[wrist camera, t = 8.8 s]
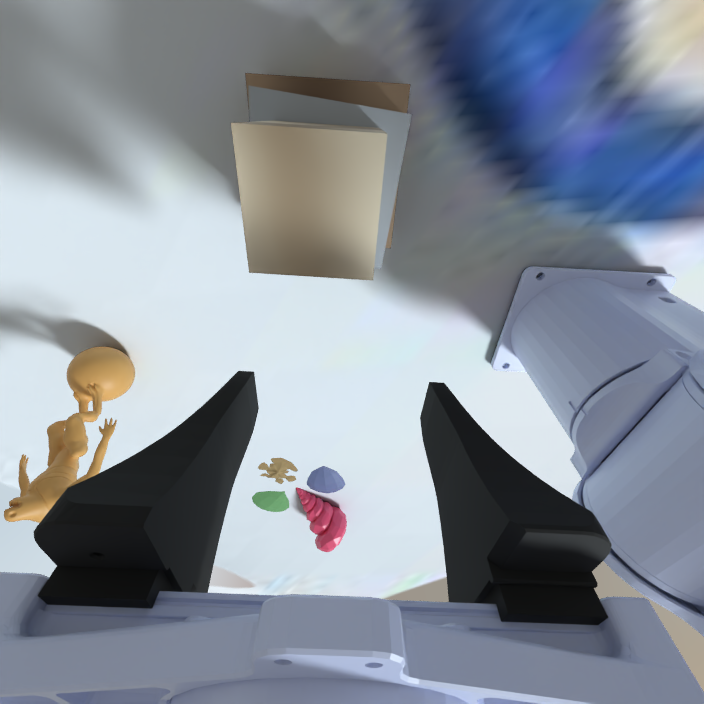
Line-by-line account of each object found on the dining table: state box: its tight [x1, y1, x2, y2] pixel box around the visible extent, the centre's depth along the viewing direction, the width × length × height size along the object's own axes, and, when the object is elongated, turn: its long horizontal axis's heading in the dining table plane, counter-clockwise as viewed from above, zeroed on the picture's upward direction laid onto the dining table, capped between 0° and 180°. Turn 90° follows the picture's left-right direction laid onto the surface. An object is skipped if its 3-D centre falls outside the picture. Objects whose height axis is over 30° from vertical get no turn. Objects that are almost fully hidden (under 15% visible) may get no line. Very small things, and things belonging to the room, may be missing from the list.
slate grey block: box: [249, 86, 412, 269], centre depth 15 cm, size 6×6×3 cm
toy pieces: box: [252, 458, 347, 552], centre depth 34 cm, size 12×11×4 cm
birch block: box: [231, 120, 387, 280], centre depth 12 cm, size 4×4×5 cm
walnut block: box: [245, 73, 410, 248], centre depth 18 cm, size 7×7×3 cm
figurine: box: [4, 347, 135, 523], centre depth 22 cm, size 8×6×12 cm
